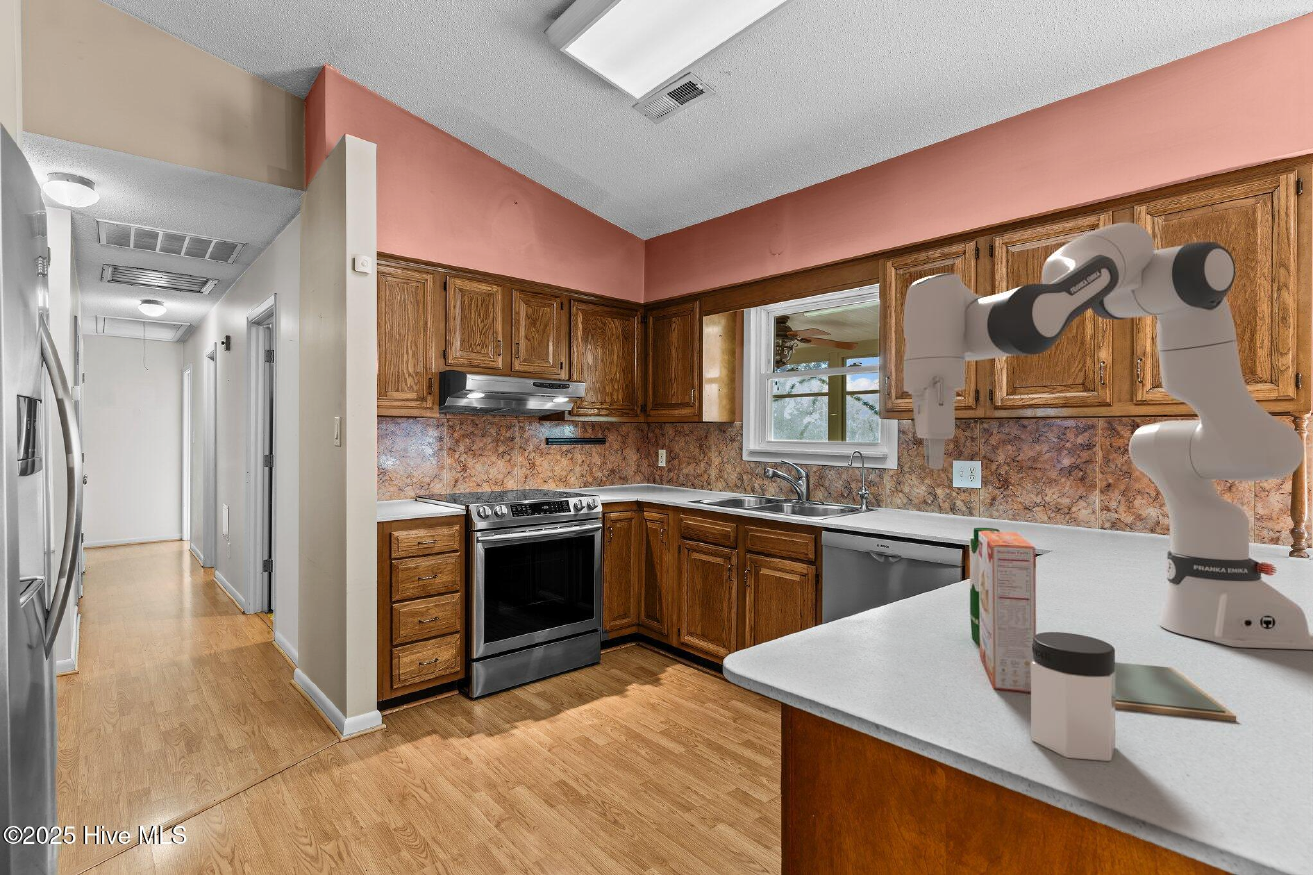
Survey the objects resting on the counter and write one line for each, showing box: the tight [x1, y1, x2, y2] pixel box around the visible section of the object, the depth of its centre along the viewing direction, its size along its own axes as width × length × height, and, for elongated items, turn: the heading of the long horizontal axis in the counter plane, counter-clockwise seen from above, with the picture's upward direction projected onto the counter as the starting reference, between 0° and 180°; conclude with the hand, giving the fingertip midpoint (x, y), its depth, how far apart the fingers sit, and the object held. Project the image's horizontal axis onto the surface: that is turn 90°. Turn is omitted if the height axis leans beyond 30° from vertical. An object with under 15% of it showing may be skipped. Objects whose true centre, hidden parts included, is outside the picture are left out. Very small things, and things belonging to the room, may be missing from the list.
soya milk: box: [968, 527, 1001, 647], centre depth 112 cm, size 9×9×20 cm
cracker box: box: [979, 530, 1037, 694], centre depth 98 cm, size 14×6×21 cm, turn 160°
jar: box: [1030, 631, 1116, 762], centre depth 76 cm, size 9×8×12 cm
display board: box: [1115, 661, 1237, 722], centre depth 93 cm, size 20×18×1 cm
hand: (933, 468), depth 101 cm, fingers open, 5 cm apart
